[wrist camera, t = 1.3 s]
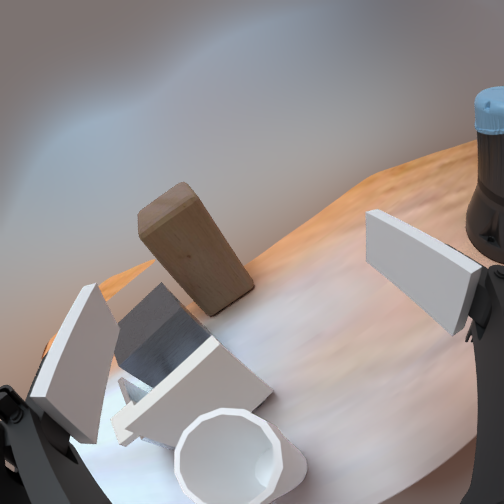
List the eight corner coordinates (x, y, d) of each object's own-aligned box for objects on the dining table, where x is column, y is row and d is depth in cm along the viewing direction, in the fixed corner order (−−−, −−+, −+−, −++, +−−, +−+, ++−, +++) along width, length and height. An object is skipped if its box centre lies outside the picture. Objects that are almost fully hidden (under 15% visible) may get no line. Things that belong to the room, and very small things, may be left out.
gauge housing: (271, 395, 31) (224, 357, 24) (183, 468, 26) (115, 451, 19) (204, 326, 45) (161, 282, 38) (139, 386, 41) (88, 352, 34)
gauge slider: (273, 390, 30) (220, 343, 23) (180, 469, 25) (101, 447, 18) (248, 366, 34) (193, 314, 27) (163, 440, 30) (90, 409, 22)
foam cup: (324, 432, 25) (289, 409, 17) (317, 504, 18) (274, 523, 10) (248, 432, 28) (185, 404, 21) (238, 496, 21) (164, 495, 14)
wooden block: (210, 319, 46) (135, 235, 34) (196, 288, 54) (135, 212, 42) (257, 287, 47) (195, 192, 35) (237, 260, 55) (183, 178, 43)
